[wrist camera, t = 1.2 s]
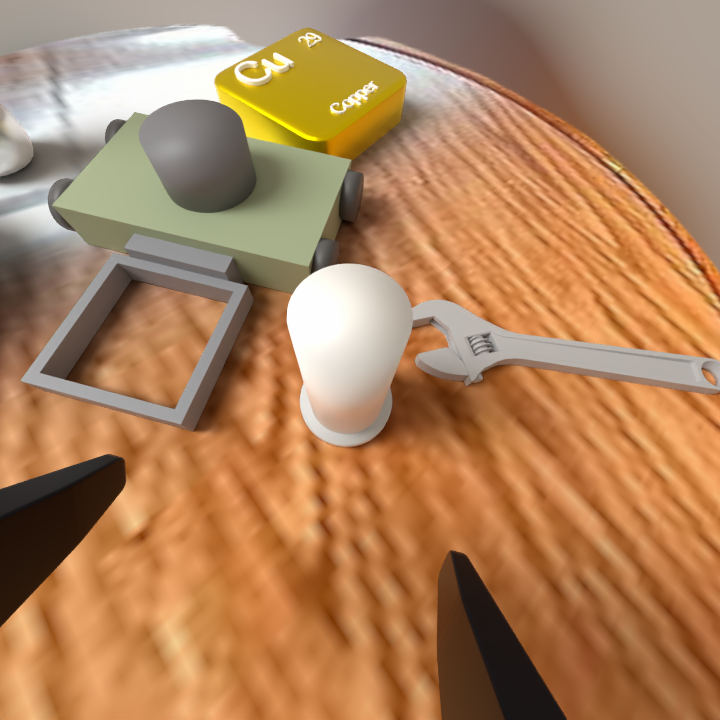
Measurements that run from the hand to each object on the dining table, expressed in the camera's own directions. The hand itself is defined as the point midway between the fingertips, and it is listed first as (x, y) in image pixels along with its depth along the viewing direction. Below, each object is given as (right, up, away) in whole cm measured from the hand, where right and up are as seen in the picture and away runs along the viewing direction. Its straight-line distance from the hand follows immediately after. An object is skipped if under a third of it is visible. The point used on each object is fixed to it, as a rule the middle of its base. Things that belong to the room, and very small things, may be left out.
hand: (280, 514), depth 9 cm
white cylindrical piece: (+1, +1, +15) cm, 16 cm away
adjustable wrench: (+18, +3, +18) cm, 25 cm away
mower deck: (-12, +11, +19) cm, 25 cm away
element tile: (-3, +31, +29) cm, 43 cm away
